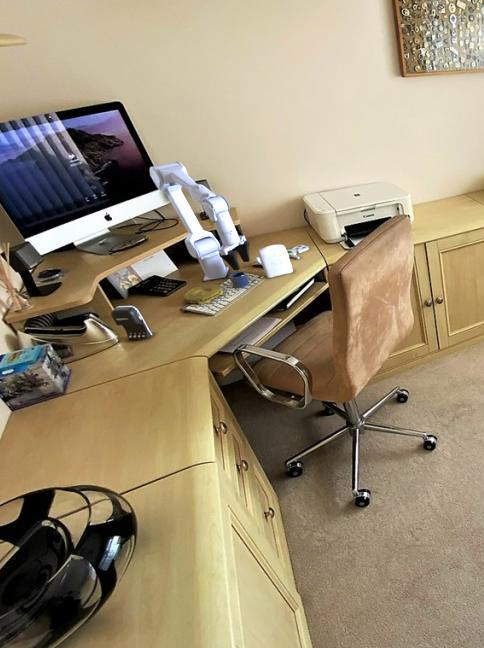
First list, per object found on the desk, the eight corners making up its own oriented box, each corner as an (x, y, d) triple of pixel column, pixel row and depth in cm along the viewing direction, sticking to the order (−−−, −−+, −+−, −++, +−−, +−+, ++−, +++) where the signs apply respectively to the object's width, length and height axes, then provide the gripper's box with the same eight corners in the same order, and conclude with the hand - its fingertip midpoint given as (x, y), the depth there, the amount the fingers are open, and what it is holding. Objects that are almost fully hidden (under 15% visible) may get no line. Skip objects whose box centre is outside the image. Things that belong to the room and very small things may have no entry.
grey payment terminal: (125, 342, 136) (105, 311, 130) (133, 335, 139) (114, 305, 133) (147, 341, 136) (128, 310, 130) (154, 334, 140) (137, 304, 133)
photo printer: (292, 269, 178) (283, 241, 171) (294, 272, 175) (285, 244, 168) (265, 275, 174) (255, 247, 167) (267, 279, 171) (257, 251, 164)
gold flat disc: (204, 306, 154) (201, 301, 153) (179, 302, 157) (176, 297, 156) (230, 291, 163) (228, 286, 162) (206, 287, 166) (203, 282, 165)
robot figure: (272, 269, 178) (317, 251, 193) (270, 262, 176) (315, 244, 191) (251, 261, 186) (295, 244, 201) (248, 254, 184) (293, 237, 199)
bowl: (234, 283, 169) (230, 273, 166) (250, 280, 170) (246, 270, 168) (232, 289, 164) (228, 279, 162) (248, 286, 166) (244, 276, 164)
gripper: (227, 237, 147) (242, 272, 154) (247, 223, 159) (261, 257, 166) (207, 238, 147) (223, 274, 154) (229, 225, 159) (243, 258, 166)
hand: (241, 265), depth 160 cm, fingers open, 7 cm apart
